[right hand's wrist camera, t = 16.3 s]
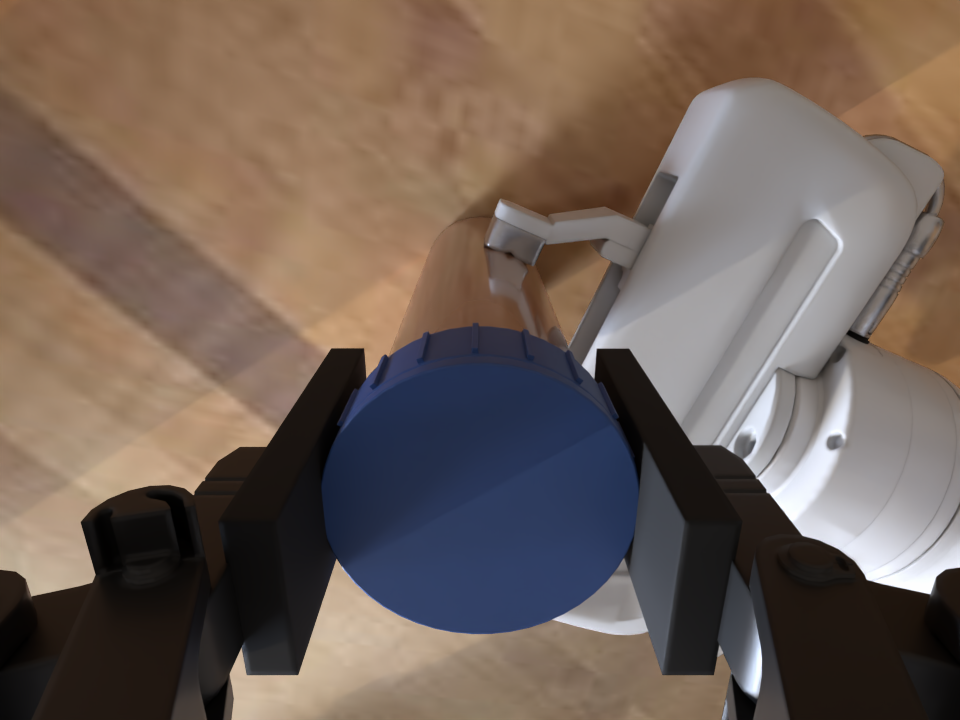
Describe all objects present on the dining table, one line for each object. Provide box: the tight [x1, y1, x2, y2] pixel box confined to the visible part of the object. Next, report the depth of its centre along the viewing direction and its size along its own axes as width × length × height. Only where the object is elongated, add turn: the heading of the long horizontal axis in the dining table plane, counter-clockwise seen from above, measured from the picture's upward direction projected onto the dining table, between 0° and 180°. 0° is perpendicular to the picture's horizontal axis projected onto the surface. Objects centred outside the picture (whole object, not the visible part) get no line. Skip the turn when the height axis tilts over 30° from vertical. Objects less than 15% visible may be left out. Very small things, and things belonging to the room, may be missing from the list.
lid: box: [321, 323, 639, 634], centre depth 11 cm, size 6×6×2 cm
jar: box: [388, 217, 569, 357], centre depth 19 cm, size 5×5×18 cm
